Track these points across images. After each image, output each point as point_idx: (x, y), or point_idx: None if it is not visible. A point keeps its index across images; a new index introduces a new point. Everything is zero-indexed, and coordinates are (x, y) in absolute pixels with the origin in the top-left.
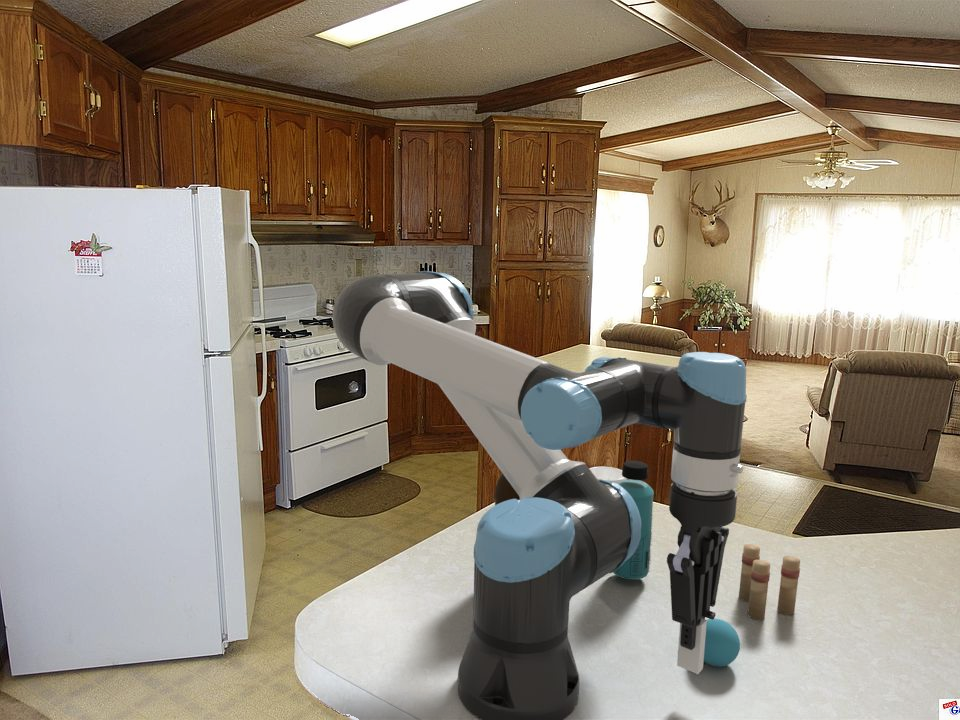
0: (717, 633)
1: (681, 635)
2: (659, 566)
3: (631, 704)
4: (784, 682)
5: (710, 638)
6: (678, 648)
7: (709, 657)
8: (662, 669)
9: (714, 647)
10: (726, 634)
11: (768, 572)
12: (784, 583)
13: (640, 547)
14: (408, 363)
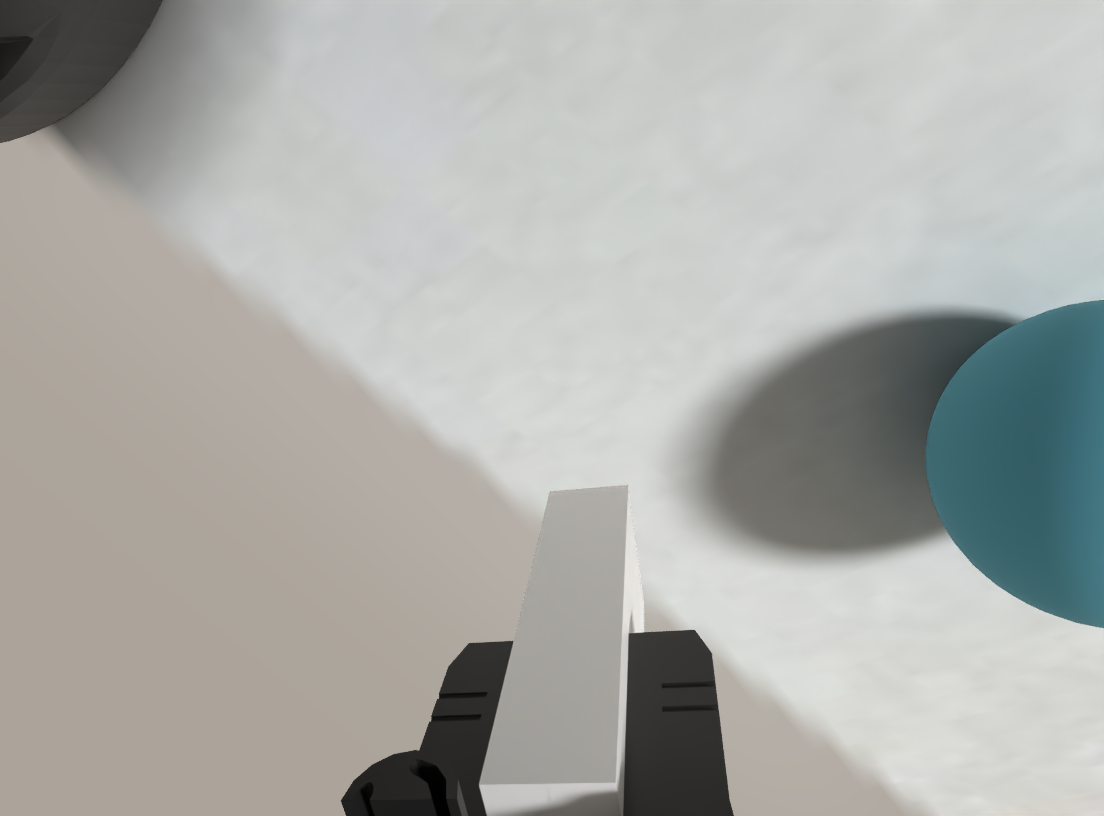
0: (1067, 571)
1: (430, 725)
2: None
3: (338, 298)
4: (1079, 692)
5: (1003, 524)
6: (532, 564)
7: (926, 471)
8: (736, 230)
9: (963, 534)
10: (1101, 615)
11: None
12: None
13: None
14: None
